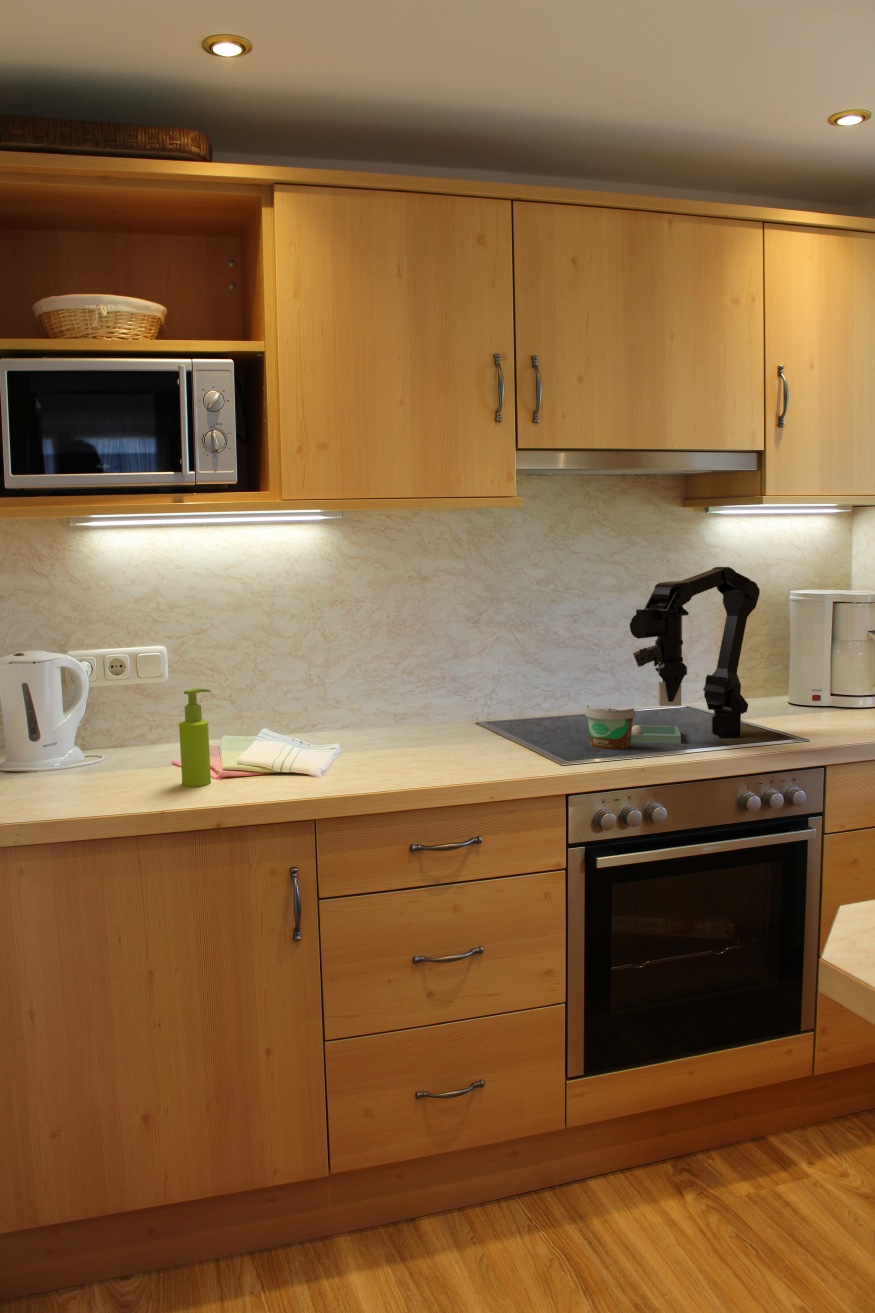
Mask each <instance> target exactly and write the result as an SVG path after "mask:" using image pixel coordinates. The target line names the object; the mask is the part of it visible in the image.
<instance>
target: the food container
mask: <svg viewBox="0 0 875 1313" xmlns="http://www.w3.org/2000/svg"><path fill="white" fill-rule="evenodd" d="M584 716H585V717H587V723H588V733H589V742H590V746H591V747H593V748H596V749H601V750H623V749H628V748H630V747H631V743H630V740H631V731H632V726H633V720H634V718H636V717H637V716H636V711H635V709H634V707H632V708H628V709H615V708H602V709H601V708H598V709H597V708H591V707H590V706H589V705H586V707H585V712H584Z"/></svg>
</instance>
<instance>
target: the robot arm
mask: <svg viewBox="0 0 875 1313" xmlns="http://www.w3.org/2000/svg"><path fill="white" fill-rule="evenodd" d="M714 588H716V590H717V591H718V592H719V593H720V594H721V595H722V604H723V607H724V609H725V612H726V617H725V621H724V622H725V623H724V626H723V627H724V629H723V633H722V639H721V644H720V648H719V653H718V654H719V655H718V660H717V664H716V665H717V666H716V669H715V671H714V672H713V673H712V674H707V675H706V677H705V684H704V687H703V689H702V691H704V692H703V693H704V694H703V696H704V699H705V702H706V707H707V710H709V711H713V715H711V720H710V721H711V722H710V723H711V724H710V725H711V726H710V728H711V729H710V731H711V732H710V733H712V734H714V736H718V737H719V738H742V736H743V735H742V733H741V731H742V730H741V727H742V726H741V725H742V723H741V722H742V715H743V714H744V713H747V712H748V709H749V703H748V701H746V699H745V698H744V696H743V695H742V692H741V689H742V684H741V681H740V677H739V676H738V669H739V663H740V659H741V658H740V657H741V653H742V647H743V642H744V636H745V631H746V626H747V620H748V617H749V616H750V614H751V613H752V612H753V611H754V610H755V608H756V607H757V604H758V601H759V598H760V592H761V591H760V587H759V586H758V584H757V582H755V581H754V580H751V579H750V578H748V577H746V576H745V575H743V574H741V573H739V572H736V570H734V569H733V568H732V567H730V566H715V567H713V568H711V569H710V570H706V571H703V572H701V573H698V574H696V575H693V576H690V577H688V578H686V579H682V580H675V581H673V580H672V581H662V582H657V583H656V584H655V585H654V589H653V591H652V593H651V595H650V597H649V599H648V601H647V602H646V604H645V606H644V609H642V608H638V609H636V611H635V614H634V615H633V617H631V621H630V623H629V630H630V633H631V635H632V636H633V638H636V639H639V640H640V639H650V638H656V637H657V638H656V639H655V641H654V642H655V644H653V645H651V646H647V647H645V646H644V647H643V648H639V649H638V650H637V651H634V652H632V653H633V654H632V655H633V657H634V660H635V663H636V665H637V667H638V668H640V667H643V666H645V665H646V664H649V663H652V662H653V666H654V667H655V668H654V669H655V671H656V672H657V675H658V676H659V677H660V678H661V679H662V682H665V686H666V692H667V697H668V701H669V702H673V701H674V698H675V696H676V694H677V691H678V689H679V687H680V684H681V685H682V683H683V680H684V677H685V676H687V675H688V666H687V665H686V664H685V663H684V657H683V645H684V640H683V617H684V616H689V611H687V610H686V609H685V608H684V605H686V604H687V603H689V602H690V601H691V600H692V598H693V597H694V596H697V595H698V594H700V593H704V592H707V591H709V590H712V589H714Z"/></svg>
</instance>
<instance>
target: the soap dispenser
mask: <svg viewBox="0 0 875 1313" xmlns="http://www.w3.org/2000/svg"><path fill="white" fill-rule="evenodd" d="M210 692H211V689H206V688H191V689H188V690H183V694H184V695H187V697H188V698H187V700H188V701H187V702H188V703H187V704H186V705H185V706H184V721H183V720H182V721H181V722H179V723H178V726H179V731H178V732H179V746H180V748H179V749H180V764H181V765H180V766H181V769H180V770H181V785H182V786H183V787H186V788H188V787H189V788H193V787H195V788H196V787H197V788H198V787H204V786H207V785H211V784H212V779H211V777H212V776H211V757H210V756H211V755H210V738H209V737H210V736H209V735H210V734H209V721H208V720H205V719H202V717H203V716H202V705H201V704H199V703H197V702H198V700H197V694H200V693H210Z"/></svg>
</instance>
